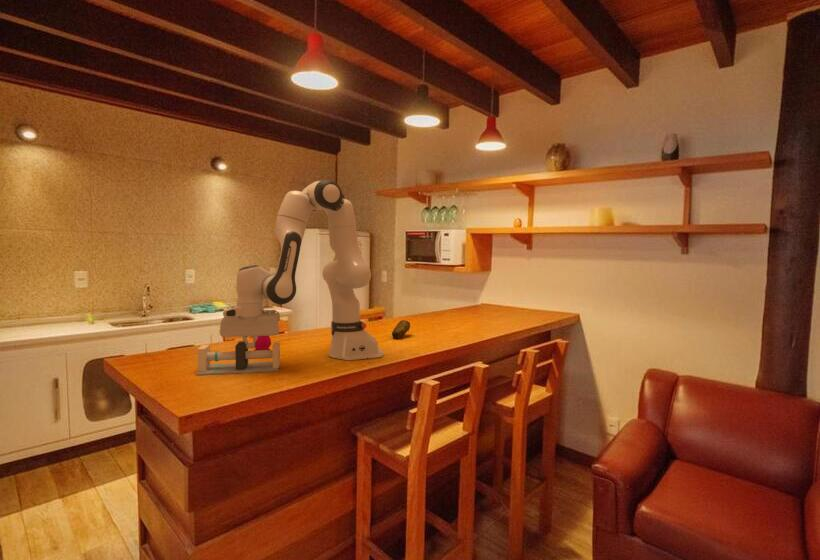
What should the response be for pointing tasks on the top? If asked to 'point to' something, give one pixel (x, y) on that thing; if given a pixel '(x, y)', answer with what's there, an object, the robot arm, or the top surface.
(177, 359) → the top surface
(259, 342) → the pepper mill
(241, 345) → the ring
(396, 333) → the potato
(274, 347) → the pipe rig
